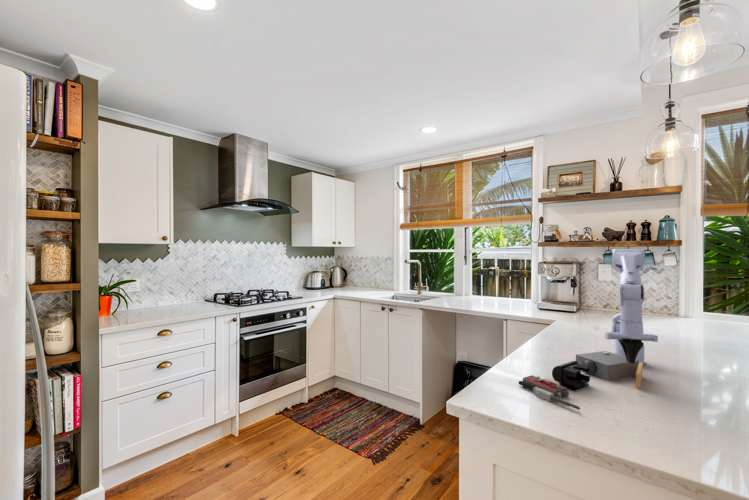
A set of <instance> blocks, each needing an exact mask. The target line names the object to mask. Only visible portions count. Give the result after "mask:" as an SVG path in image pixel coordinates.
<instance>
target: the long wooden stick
mask: <svg viewBox="0 0 749 500" xmlns="http://www.w3.org/2000/svg"><path fill="white" fill-rule="evenodd" d="M643 366H644V364H643V363H640V362H639V365H638V368H637V372H636V376H635V388H637V389H641V385H642V381H643V375H644V373H643V371H644V367H643Z"/></svg>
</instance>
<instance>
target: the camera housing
mask: <svg viewBox="0 0 749 500" xmlns="http://www.w3.org/2000/svg"><path fill="white" fill-rule="evenodd" d="M575 361H578V364H580V365H584V366H587V367H590V372H586V371H583V372H584V373H585V374H586V375H587V374H588V375H592V376H595V377H598V378H601V379H603V380H606V381H612V380H617V379H623V378H629V377H636V372H637V368H638V365H639V361H638V360H635V363H629V362H627V360H626V357H624V356H621V355H617V354H615V352H610V351H606V350H604V351H603V350H602V351H595V352H594V351H593V352H587V353H585V352H584V353H579V354H577V353H576V354H575Z"/></svg>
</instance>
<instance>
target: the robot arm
mask: <svg viewBox="0 0 749 500" xmlns="http://www.w3.org/2000/svg"><path fill="white" fill-rule="evenodd" d="M645 259H646V251H645V249H644V248H614V249H612V267H613V270H616V271H618V272H619V286H618V299H619V306H620V307H619V309H620V311H619V313H617V314H615V315H613V317H612V318H611V332H609V331H608V332H606V331H605V332H604V338H605V339H607V340H615V343H614V344H615V345H614V347H615V348H614V349H615V350H614V354H617V355H621V356H624V357H626V360H627V362H629V363H635V360H638V361H639V362H640V363H643V365H646V364H648V362H646V361H645V344H644V342H653V343H658V341H659V336H658V335H656V334H652V333H651V334H650V333H648V334H647V333H644V324H643V303H644V301H645V286H644V284H643V282H642V278H641V274H640V271H642V270H643V268H644V266H645V263H646V262H645V261H646V260H645Z"/></svg>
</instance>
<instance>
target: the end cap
mask: <svg viewBox="0 0 749 500" xmlns="http://www.w3.org/2000/svg"><path fill="white" fill-rule="evenodd" d="M581 371H582V372H584V371H586V372H590V367H587V366H584V365H580V364H578V361H576V360H571V361H568V362H564V363H561V364H558V365H556V366H554V367H553V368H552V371H551V375H552V378H553V379H552V380H555V381H558V382H559V383H560V384H561V386H563V387H566V388H568V391H572V392H578V391H580V390H582V389H584V388H587V387H590V384H589V383H590V379H591V377H590V375H587V374H584V373H582V372H581ZM586 372H585V373H586Z"/></svg>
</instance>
